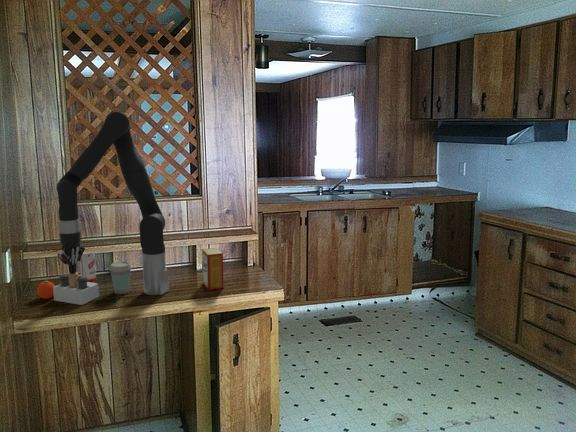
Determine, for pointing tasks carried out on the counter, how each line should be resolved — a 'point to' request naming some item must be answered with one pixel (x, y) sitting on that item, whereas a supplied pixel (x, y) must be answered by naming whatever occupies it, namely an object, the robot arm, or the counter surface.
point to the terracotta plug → (73, 280)
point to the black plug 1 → (64, 280)
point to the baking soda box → (212, 268)
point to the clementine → (45, 290)
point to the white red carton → (88, 267)
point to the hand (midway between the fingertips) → (73, 273)
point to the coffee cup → (120, 277)
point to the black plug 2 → (82, 282)
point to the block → (76, 293)
